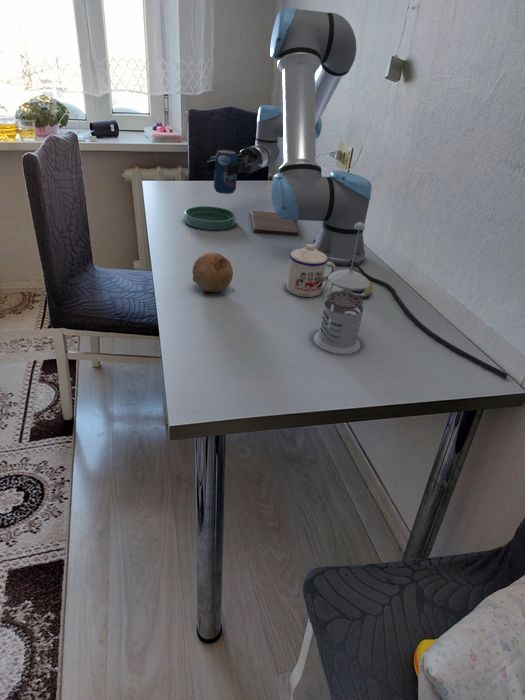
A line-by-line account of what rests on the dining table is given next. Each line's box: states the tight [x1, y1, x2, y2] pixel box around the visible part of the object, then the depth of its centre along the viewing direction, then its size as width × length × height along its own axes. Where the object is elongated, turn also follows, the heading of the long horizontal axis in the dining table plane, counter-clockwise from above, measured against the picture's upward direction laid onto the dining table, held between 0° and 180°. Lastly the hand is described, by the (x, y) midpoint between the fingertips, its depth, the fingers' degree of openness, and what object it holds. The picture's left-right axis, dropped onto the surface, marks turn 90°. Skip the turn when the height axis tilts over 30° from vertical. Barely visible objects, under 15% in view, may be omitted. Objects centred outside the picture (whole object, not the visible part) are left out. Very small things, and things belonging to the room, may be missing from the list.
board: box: [250, 210, 299, 237], centre depth 167 cm, size 20×14×1 cm
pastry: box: [343, 280, 373, 298], centre depth 125 cm, size 9×7×4 cm
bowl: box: [184, 205, 236, 231], centre depth 161 cm, size 16×16×3 cm
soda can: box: [213, 149, 238, 195], centre depth 155 cm, size 7×7×12 cm
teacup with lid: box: [286, 243, 336, 298], centre depth 121 cm, size 12×9×12 cm
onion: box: [191, 252, 234, 293], centre depth 117 cm, size 10×9×10 cm
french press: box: [313, 222, 371, 355], centre depth 97 cm, size 10×12×25 cm
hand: (217, 168), depth 150 cm, fingers closed on soda can, 7 cm apart
